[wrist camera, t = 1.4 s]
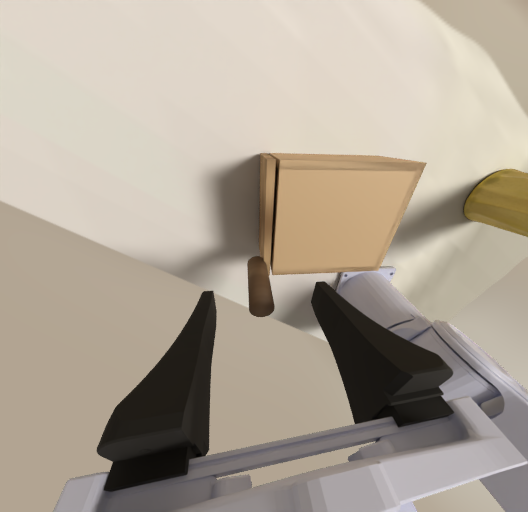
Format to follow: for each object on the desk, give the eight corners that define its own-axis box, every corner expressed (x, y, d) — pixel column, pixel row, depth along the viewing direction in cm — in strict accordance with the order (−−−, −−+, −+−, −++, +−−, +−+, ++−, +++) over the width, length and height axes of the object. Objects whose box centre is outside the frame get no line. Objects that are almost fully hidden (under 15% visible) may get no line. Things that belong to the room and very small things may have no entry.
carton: (350, 242, 24) (378, 270, 19) (266, 244, 23) (272, 275, 18) (377, 155, 19) (426, 162, 14) (269, 153, 18) (280, 159, 13)
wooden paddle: (263, 246, 23) (277, 316, 14) (246, 246, 23) (249, 318, 14) (266, 153, 17) (292, 171, 9) (244, 152, 17) (246, 170, 8)
